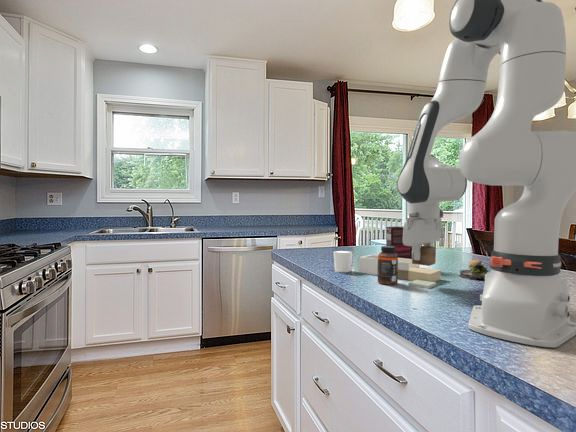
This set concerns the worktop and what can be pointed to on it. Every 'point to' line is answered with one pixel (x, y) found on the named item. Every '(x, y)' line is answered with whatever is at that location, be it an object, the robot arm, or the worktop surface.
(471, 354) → the worktop surface
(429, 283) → the coaster
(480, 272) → the burger
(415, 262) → the walnut block
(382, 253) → the supplement bottle
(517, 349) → the worktop surface
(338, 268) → the white cylinder
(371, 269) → the trough
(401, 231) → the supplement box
